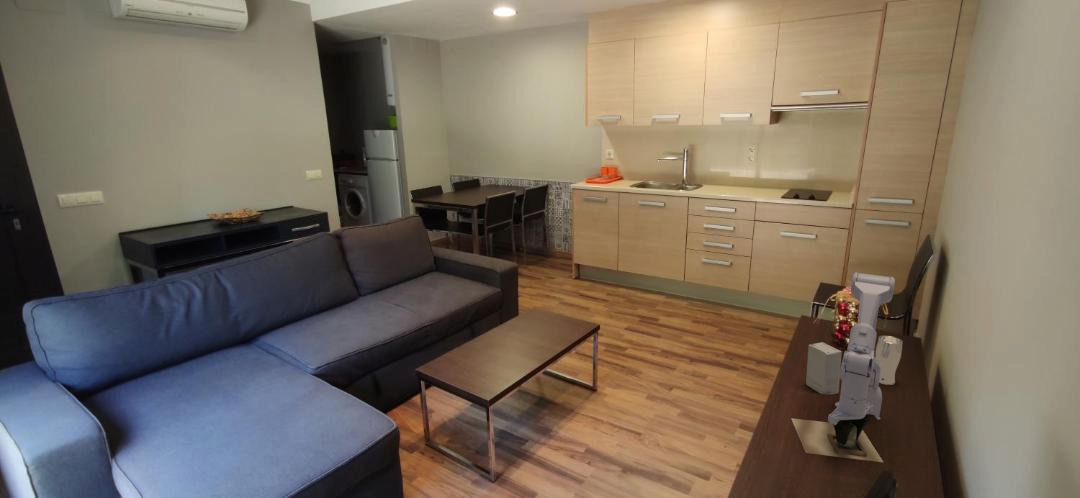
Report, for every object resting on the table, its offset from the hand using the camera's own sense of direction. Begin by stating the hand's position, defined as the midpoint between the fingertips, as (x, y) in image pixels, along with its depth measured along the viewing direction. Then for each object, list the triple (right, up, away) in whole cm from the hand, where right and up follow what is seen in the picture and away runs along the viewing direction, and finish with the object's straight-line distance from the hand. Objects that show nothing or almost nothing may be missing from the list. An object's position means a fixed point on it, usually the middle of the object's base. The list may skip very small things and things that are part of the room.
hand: (846, 440), depth 130 cm
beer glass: (+35, +6, +35) cm, 50 cm away
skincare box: (+11, +5, +31) cm, 33 cm away
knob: (0, -1, 0) cm, 1 cm away
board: (-1, -2, +4) cm, 5 cm away
